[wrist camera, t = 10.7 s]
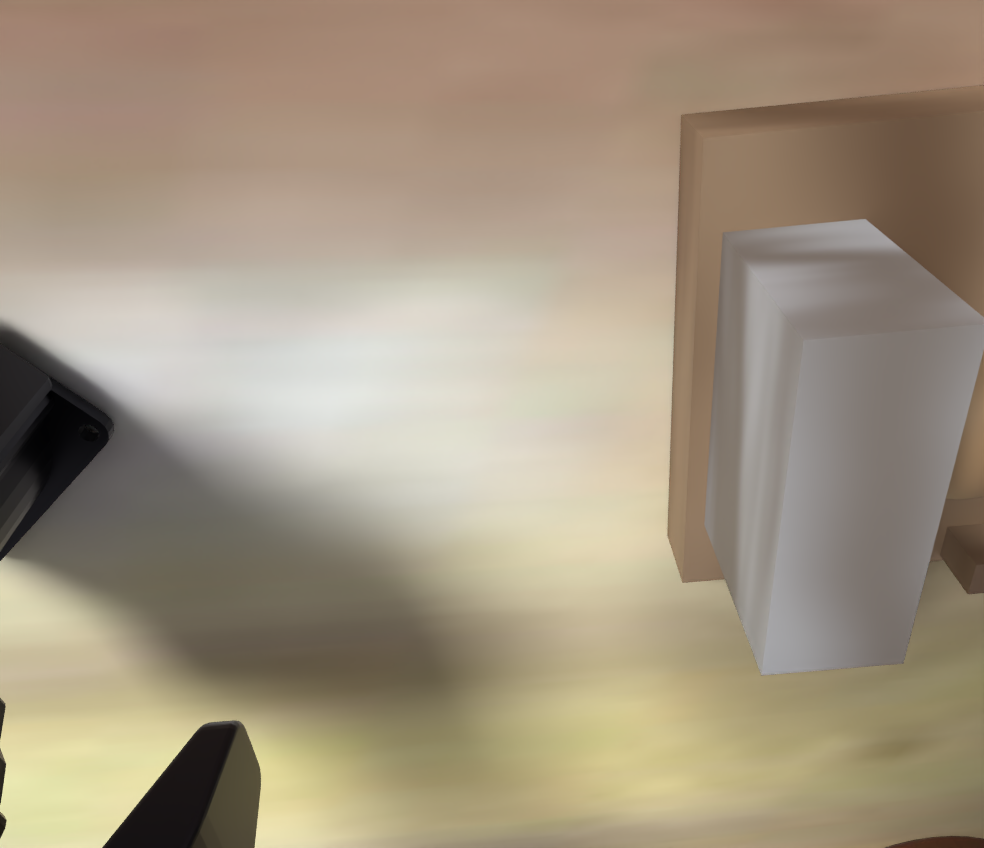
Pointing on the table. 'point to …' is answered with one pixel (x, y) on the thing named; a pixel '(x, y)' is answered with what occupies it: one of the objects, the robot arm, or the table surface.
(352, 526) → the table surface
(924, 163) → the board
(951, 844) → the food container
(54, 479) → the robot arm
